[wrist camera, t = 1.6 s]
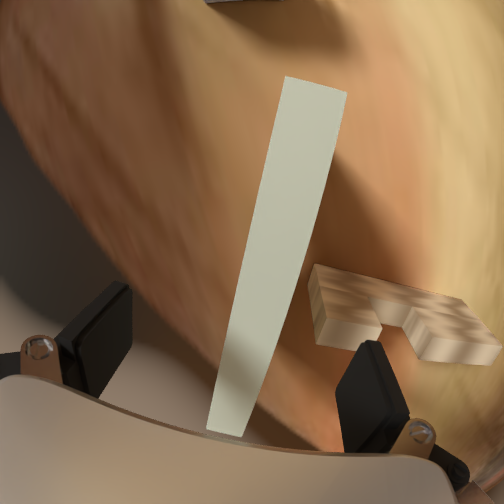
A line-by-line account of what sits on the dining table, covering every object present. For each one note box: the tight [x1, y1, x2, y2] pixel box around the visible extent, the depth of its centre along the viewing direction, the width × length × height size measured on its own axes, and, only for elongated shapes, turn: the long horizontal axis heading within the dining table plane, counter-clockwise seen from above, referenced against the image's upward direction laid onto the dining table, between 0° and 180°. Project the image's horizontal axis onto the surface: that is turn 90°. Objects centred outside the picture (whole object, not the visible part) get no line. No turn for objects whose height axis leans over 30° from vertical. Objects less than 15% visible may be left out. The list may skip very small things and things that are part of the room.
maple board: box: [307, 263, 503, 365], centre depth 24 cm, size 20×2×10 cm, turn 77°
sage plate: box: [206, 76, 347, 437], centre depth 20 cm, size 20×2×16 cm, turn 167°
